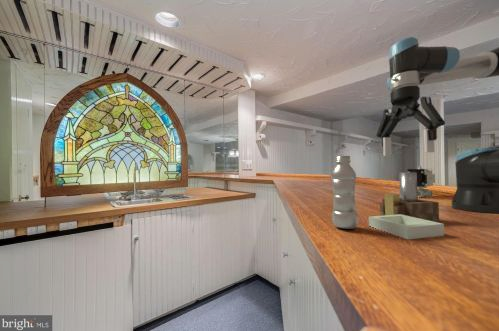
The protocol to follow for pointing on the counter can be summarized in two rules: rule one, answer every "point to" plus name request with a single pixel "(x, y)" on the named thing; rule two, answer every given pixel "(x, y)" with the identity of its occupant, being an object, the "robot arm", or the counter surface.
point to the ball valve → (423, 181)
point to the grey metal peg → (408, 187)
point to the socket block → (415, 209)
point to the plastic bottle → (344, 194)
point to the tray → (407, 226)
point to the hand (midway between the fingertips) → (406, 154)
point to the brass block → (391, 202)
